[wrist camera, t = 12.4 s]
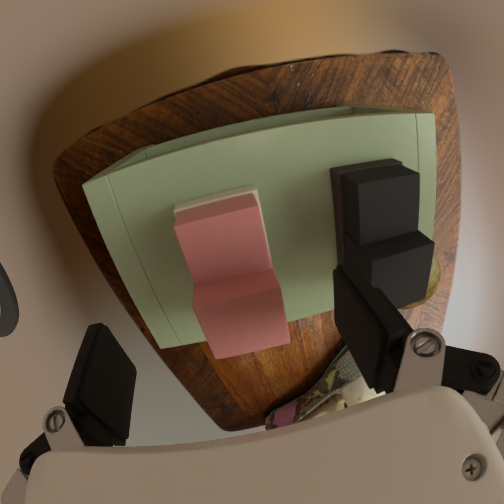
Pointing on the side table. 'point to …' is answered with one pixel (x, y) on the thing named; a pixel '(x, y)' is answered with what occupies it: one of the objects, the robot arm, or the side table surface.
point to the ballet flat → (326, 394)
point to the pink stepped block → (231, 272)
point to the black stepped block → (382, 227)
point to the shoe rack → (270, 196)
